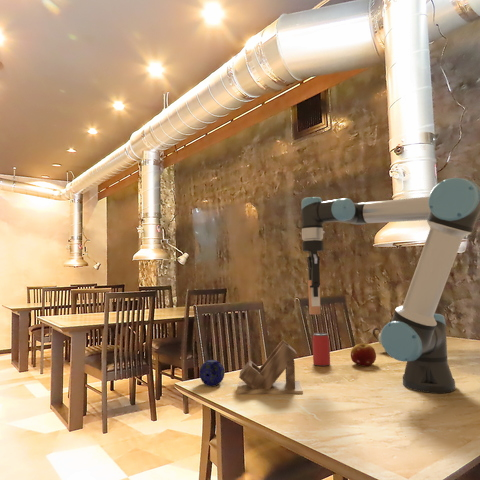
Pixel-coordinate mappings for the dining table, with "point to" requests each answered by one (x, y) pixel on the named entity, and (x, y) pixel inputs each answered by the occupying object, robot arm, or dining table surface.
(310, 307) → the peg
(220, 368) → the ball
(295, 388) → the socket
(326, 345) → the beer can
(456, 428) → the dining table surface
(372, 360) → the fruit
